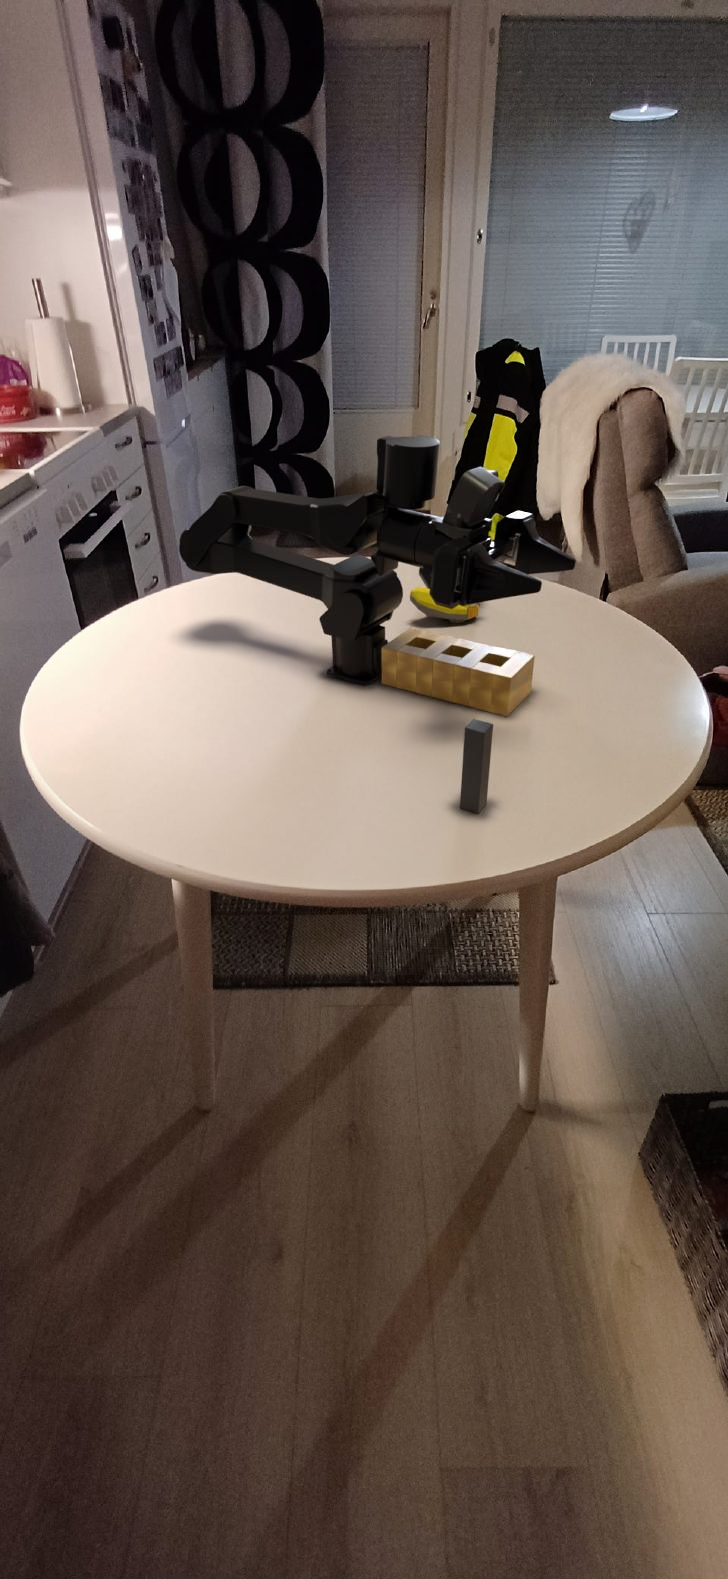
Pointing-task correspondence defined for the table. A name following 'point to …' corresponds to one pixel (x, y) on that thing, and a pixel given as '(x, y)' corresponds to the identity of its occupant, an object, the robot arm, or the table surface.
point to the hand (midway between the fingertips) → (558, 575)
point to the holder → (458, 670)
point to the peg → (476, 765)
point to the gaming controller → (429, 608)
